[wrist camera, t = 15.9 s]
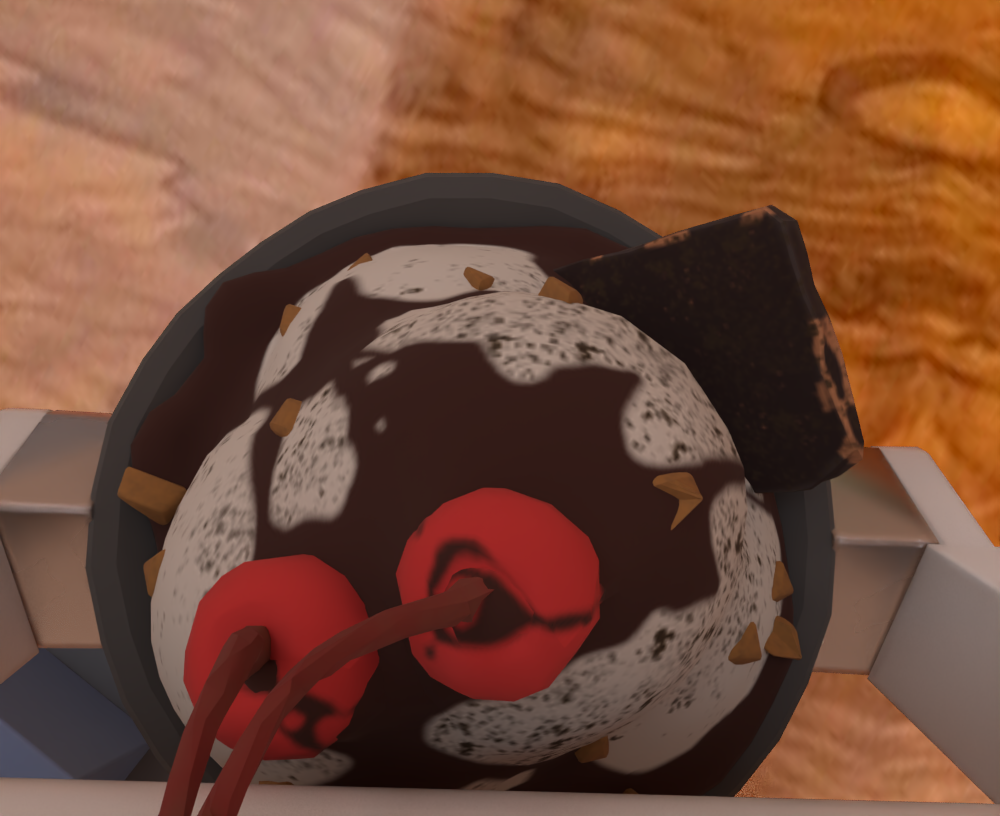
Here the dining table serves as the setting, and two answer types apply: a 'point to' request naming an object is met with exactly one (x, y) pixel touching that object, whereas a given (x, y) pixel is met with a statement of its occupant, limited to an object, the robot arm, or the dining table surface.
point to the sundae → (476, 501)
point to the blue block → (63, 726)
